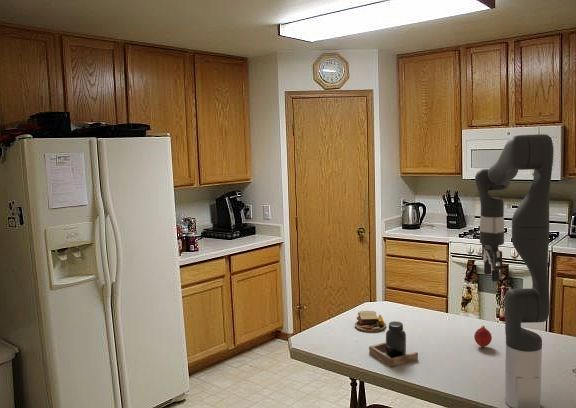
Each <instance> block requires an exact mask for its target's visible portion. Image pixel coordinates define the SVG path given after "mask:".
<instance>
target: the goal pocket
mask: <svg viewBox="0 0 576 408" xmlns="http://www.w3.org/2000/svg"><path fill="white" fill-rule="evenodd" d="M368 351H369V352H368V353H369V354H370V355H372V356H373V357H374V358H376V359H378V360H380V361H381V362H383V363H384V364H386V365H387V366H389V367H391V368H392V367H393V368H394V367H397V366H402V365H404V364H408V363H411V362H415V361H418V360H419V353H418V352H417V351H413V352H410V353H406V355H402V356H398V357H395V358H391V357H389V356H387V355H386V353H384V351H385V352H386V341H384V342H381V343H377V344H374V345H370V346H369V347H368Z"/></svg>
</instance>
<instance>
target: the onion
mask: <svg viewBox="0 0 576 408" xmlns="http://www.w3.org/2000/svg"><path fill="white" fill-rule="evenodd" d="M473 338H474V341H475V342H476V344H477V345H478V346H480V347H481V348H485V347H487V346H489V345H490V344H491V342H492V340H493V339H492V338H493V336H492V334H491V332H490V331H489V329H487V328H486V326H485V325H483V324H482V325H481V327H479V329H477V330H476V331H475V333H474V336H473Z"/></svg>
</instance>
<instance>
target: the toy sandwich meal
mask: <svg viewBox="0 0 576 408" xmlns="http://www.w3.org/2000/svg"><path fill="white" fill-rule="evenodd" d="M383 318H384V317H382V314H378V316H377V312H376V311H375V310H361V311H358V312H357V316H356V320H357V321H356V322H354V326H355V327H356V329H358V330H359V331H362V332H367V333H368V332H369V333H375V332H380V331H382V330H384V329H385V328H386V327H387V324H386V322H385V321H384V319H383Z"/></svg>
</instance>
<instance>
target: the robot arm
mask: <svg viewBox="0 0 576 408" xmlns="http://www.w3.org/2000/svg"><path fill="white" fill-rule="evenodd" d="M553 165H554V144H553V140H552V138H551V136H550V135H549V134H543V133H541V134H539V133H538V134H519V135H515V136H512V137H510V138H509V139H508V140H507V142H506V144H505V145H504V147H503V149H502V151H501V153H500V156H499V157H498V158H497V160H496V161H495V162H494V163H493V164H492V165H490V167H489V168H482V169H481V168H480V169H479V170H477V172H476V174H475V177H474V182H475V186H476V189H477V192H478V197H479V201H480V202H479V203H480V218H479V219H480V220H479V243H480V244H481V260H482V262H483V274H485V275H491V281H492V282H493V283H495V282H499V281H500V271H501V270H503V251H502V250H499V247H500V246H502V245H505V218H504V215H505V214H504V213H505V208H504V207H505V203H504V199H503V198H500V197H496V196H492V195H490V194H489V192H490V191H503V190H507V189H508V188H509V187H510V183H511V181H512V180H514V179H515V178H516V176H517V175H518V173H519V170H520V171H523V170H526V171H527V170H529V171H530V170H534V172H533V173H534V174H533V179H532V183H531V186H530V188H529V190H528V192H527V194H526V195H525V196H524V198H523V199H522V200H521V202H520V204H519V205H518V206H517V208H516V210H515V211H514V212H513V215H512V218H511V242H512V245H513V247H514V249H515V251H516V253H517V254H518V255H519V257H520V259H521V260H522V261H523V263H524V264H525V266H526V267H527V269H528V271H529V273H530V276H531V282H532V287H531V288H510V289H508V290H506V292H505V294H504V302H503V303H504V305H503V307H504V322H505V324H504V325H505V326H504V330H505V331H504V333H505V360H504V361H505V366H504V367H505V369H504V379H505V380H504V401H505V404H506V405H508V407H511V408H541V400H542V397H541V396H542V364H543V363H542V361H543V360H542V357H543V339H542V336H541V335H540V334H538V333H536V332H534V331H533V330H532V331H531V330H529V329H526V328H523V327H522V324H523V323H525V324H528V323H531V324H532V323H544V322H546V321H548V319H549V315H550V308H551V305H550V302H551V301H550V287H549V286H550V283H549V268H548V267H549V243H550V192H551V185H552V184H551V181H552V175H553V174H552V172H553Z"/></svg>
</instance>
